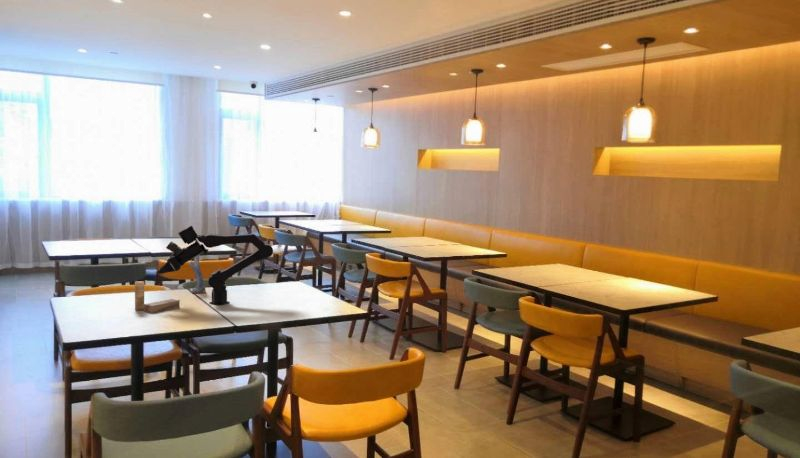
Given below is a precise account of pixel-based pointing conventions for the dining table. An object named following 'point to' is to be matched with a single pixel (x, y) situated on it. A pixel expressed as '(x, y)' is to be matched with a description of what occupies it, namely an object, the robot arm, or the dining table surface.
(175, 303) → the block
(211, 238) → the robot arm
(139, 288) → the oak rod
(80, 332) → the dining table surface
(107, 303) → the dining table surface
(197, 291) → the antler
